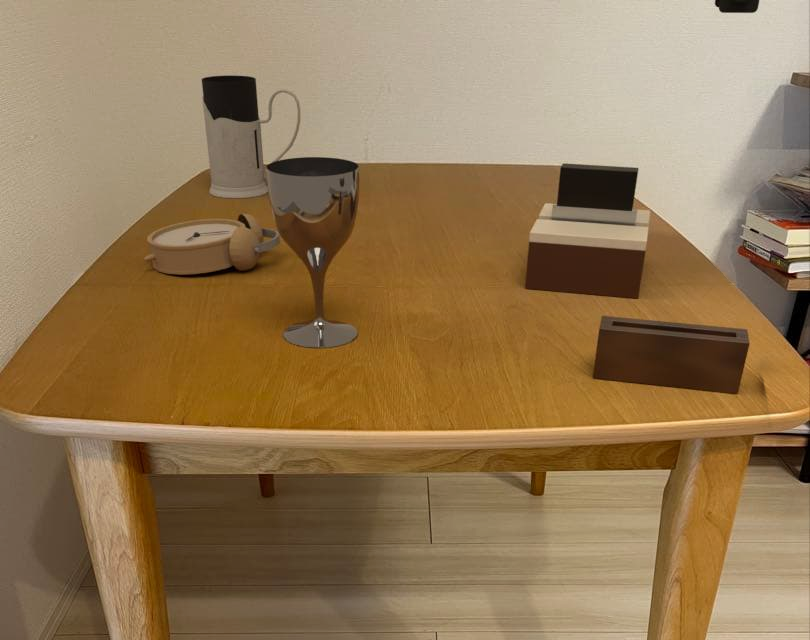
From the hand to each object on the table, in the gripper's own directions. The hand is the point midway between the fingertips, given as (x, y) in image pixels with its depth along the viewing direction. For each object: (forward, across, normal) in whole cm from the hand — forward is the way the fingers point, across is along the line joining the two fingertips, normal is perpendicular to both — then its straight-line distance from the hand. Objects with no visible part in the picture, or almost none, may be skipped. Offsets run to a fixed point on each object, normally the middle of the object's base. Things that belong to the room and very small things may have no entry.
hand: (734, 9), depth 80 cm
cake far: (+26, +7, +11) cm, 29 cm away
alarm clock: (+25, -4, +53) cm, 59 cm away
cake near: (+26, 0, +11) cm, 28 cm away
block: (+26, -24, +2) cm, 35 cm away
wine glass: (+26, -22, +34) cm, 48 cm away
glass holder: (+25, +30, +62) cm, 73 cm away
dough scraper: (+26, +3, +11) cm, 28 cm away
